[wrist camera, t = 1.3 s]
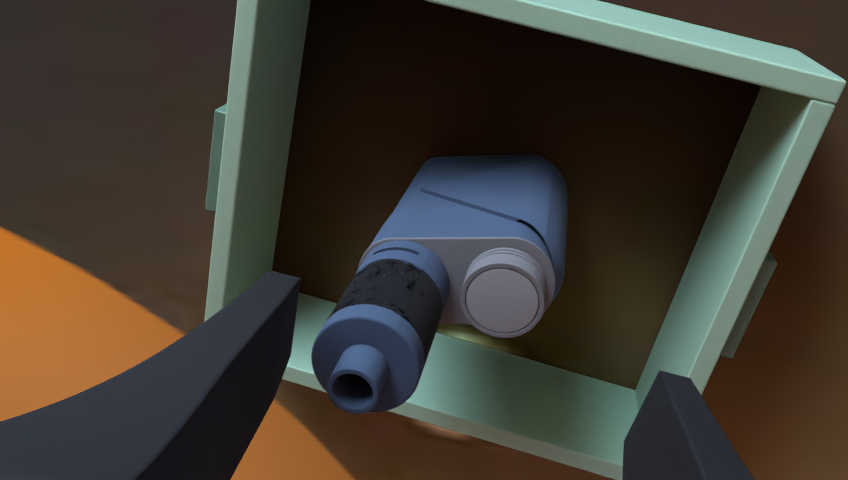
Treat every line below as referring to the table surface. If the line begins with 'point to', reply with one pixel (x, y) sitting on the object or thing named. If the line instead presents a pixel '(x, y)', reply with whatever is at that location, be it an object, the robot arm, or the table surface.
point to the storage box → (492, 369)
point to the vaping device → (445, 273)
